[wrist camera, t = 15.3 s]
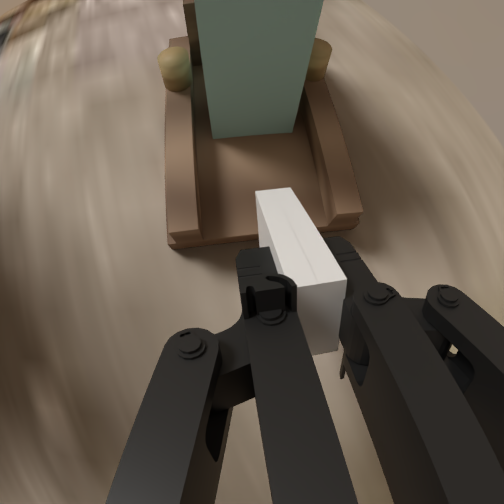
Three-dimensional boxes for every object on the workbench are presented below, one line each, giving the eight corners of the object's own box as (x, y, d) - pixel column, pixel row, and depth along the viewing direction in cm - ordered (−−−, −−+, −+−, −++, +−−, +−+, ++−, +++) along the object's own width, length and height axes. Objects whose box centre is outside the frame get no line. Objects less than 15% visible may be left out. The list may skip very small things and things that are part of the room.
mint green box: (292, 132, 19) (326, -15, 9) (212, 139, 19) (192, -13, 8) (274, 60, 21) (289, -66, 10) (207, 65, 21) (194, -63, 10)
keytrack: (353, 228, 19) (404, 178, 12) (172, 249, 19) (133, 204, 12) (305, 57, 23) (319, -11, 16) (169, 68, 22) (153, -1, 15)
